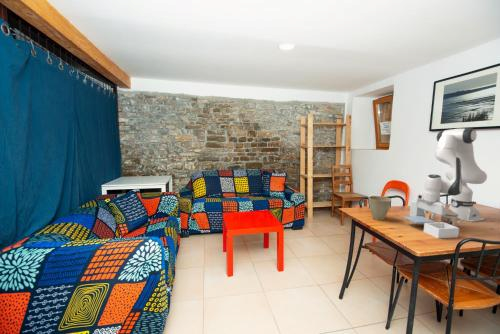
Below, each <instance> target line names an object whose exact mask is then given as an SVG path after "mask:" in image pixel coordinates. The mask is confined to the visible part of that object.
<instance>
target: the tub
mask: <svg viewBox="0 0 500 334" xmlns="http://www.w3.org/2000/svg"><path fill="white" fill-rule="evenodd" d="M423 233H425V234H428V235H429V236H432V237H434V238H436V239H452V238H459V233H460V228H459V227H457V226H456V227H455V226H452V225H450V224H447V223H444V222H439V221H438V222H437V221H436V223H424V224H423Z"/></svg>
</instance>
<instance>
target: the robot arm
mask: <svg viewBox="0 0 500 334" xmlns="http://www.w3.org/2000/svg"><path fill="white" fill-rule="evenodd" d="M477 136H478V135H477V131H476V130H475V129H474V128H470V127H465V128H463V127H462V128H454V129H453V128H452V129H444V130H440V131H438V133H437V135H436V140H437V144H436V147H435V151H434V157H435V158H436V160H438V161H439V162H441V163H443V164H445V165H448V166H450V167H449V168H447V169H446V171H445V177H446V179H442V176H441V175H439V174H435V173H434V174H429V175H426V179H425V183H424V192H423V194H417V196H416V197H417V198H416V200H415V201H416V206H417V207H418V208H421V209H424V212H425V217H426V214H429V213H428V212H430V213H431V216H430V218H431V219H430V220H433V219H435V216H436V215H439V216H441V215H446V211H447V210H448V209H451V210H452V211H453V212H454V213H457V214H458V218H461V219H462V221H467V222H471V223H474V222H479V221H481V222H482V221H485V218H483V217H482V216H481V212H480V210H479V209H477V208H476V207H475V206H474V205H477V201H474V200H473V195H474V191H473V190H472V189H471V188H470V187H469V186H468V184H471V185H481V184H484V183H485V182H487V178H488V175H487V173H486V172H485V171H484V170H482V169H481V168H480V167H479V166H478V164H477V162H476V160H475V153H474V151H475V150H474V145H473V144H474V143H473V142H475V140H476V139H477ZM441 194H445V195H450V196H452V198H451V200H450V203H451V204H450V205H449V208H448V209H447V203H446V202H445V201H443V200H441ZM458 220H460V219H458Z"/></svg>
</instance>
